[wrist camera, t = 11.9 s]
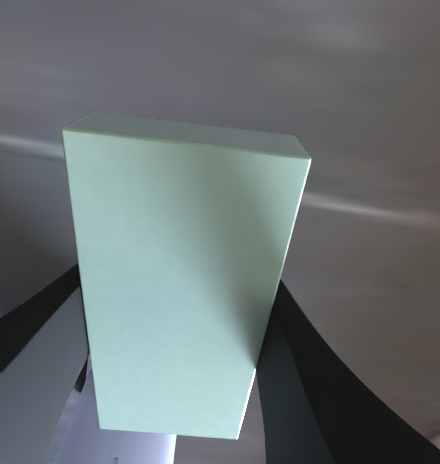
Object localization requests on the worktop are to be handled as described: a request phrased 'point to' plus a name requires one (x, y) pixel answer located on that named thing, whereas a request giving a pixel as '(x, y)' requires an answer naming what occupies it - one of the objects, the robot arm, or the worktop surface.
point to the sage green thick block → (178, 263)
